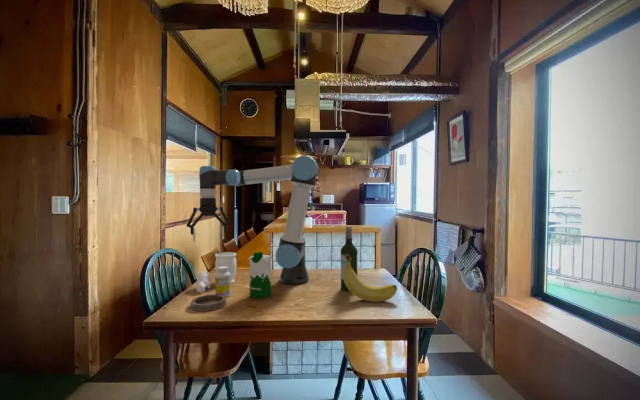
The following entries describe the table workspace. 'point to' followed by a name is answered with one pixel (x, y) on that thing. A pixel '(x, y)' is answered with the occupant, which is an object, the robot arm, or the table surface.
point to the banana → (366, 286)
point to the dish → (208, 303)
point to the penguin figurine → (203, 281)
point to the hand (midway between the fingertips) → (208, 240)
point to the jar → (227, 263)
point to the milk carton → (260, 275)
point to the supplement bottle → (222, 281)
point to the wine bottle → (352, 252)
